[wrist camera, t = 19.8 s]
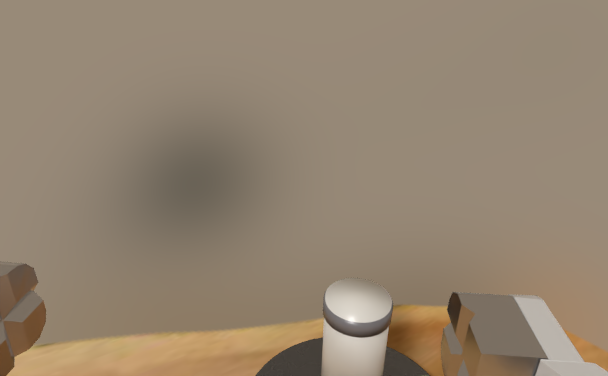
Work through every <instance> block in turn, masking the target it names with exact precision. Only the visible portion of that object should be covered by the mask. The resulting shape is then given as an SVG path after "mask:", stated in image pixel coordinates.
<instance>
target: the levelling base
mask: <svg viewBox="0 0 608 376" xmlns="http://www.w3.org/2000/svg"><path fill="white" fill-rule="evenodd" d="M322 349H323V338H318V339H312V340H309V341H305V342H302V343H299V344H297V345H294V346H292V347H290V348H288V349H286V350H284V351H282V352H281V353H279V354H278V355H276V356H275V357H273V358H272V359H271V360H270V361H269V362H268V363H266V364H265V365H264V366H263V367H262V369H261V370H260V371H259V372H258V373H257V374H256V376H321V369H322ZM383 376H430V375H429V374H428V373H427V372H426V371H425V370H424V369H423V368H421V367H420V366H419V365H418V364H416V363H415V362H414V361H412V360H411V359H409V358H408V357H406V356H405V355H403V354H401V353H399V352H397V351H396V350H394V349H392V348H389V347H387V346H386V353H385V361H384V369H383Z"/></svg>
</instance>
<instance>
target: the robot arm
mask: <svg viewBox="0 0 608 376" xmlns="http://www.w3.org/2000/svg"><path fill="white" fill-rule="evenodd" d="M37 284H38V280H37V277H36V274H35V271H34V268H32V267H30V266H29V265H27V264H23V263H11V262H0V376H6V375H7V374H8V373H9V372H10V371H11V370H12V369H13V367H14V357H15V356H17V355H19V354H21V353H23V352H24V351H26V350H28V349H30V348H31V347H32V346H33V344H34V343H35V342H36V341H37V340H38V338H39V337H40V335H41V332H42V330H43V327H44V325H45V322H46V309H45V305H44V301H43V300H42V299H41V298H40V297H39V296H38V295H37V294H36V293H35V292H34V289H35V287H36V285H37ZM447 311H448V314H449V317H450V320H451V323H450V324H448V325H447V326H446V327H445V328H444V329H443V335H442V341H441V360H442V367H443V372H444V376H608V372H607V371H606V370H604V369H603V368H601V367H600V366H598V365H596V364H595V363H585V362H584V360H583V359H582V357H581V356H580V354H579V353H578V351H577V350H576V348H575V347H574V345H573V344H572V342H571V341H570V339H569V338H568V336H567V335H566V333H565V332H564V331H563V329H562V328H561V326H560V325H559V323H558V322H557V320H556V319H555V317H554V316H553V314H552V313H551V311H550V310H549V308H548V307H547V305H546V304H545V302H544V301H543V299H541V298H540V297H538V296H533V295H493V294H474V293H458V292H453V293H452V295H451V297H450V299H449V304H448V308H447Z"/></svg>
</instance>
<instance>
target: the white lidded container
mask: <svg viewBox="0 0 608 376" xmlns="http://www.w3.org/2000/svg"><path fill="white" fill-rule="evenodd" d="M392 310H393V301H392V298H391V296H390V294H389V293H388V291H387V290H386V289H385V288H383V287H382V286H381V285H379V284H377V283H375V282H373V281H370V280H366V279H360V278H347V279H342V280H339V281H337V282H335V283H333V284H332V285H330V286H329V287H328V289H327V290H326V292H325V294H324V303H323V315H324V329H323V349H322V369H321V376H383V369H384V361H385V353H386V345H387V337H388V330H389V325H390V323H391V317H392Z"/></svg>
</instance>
